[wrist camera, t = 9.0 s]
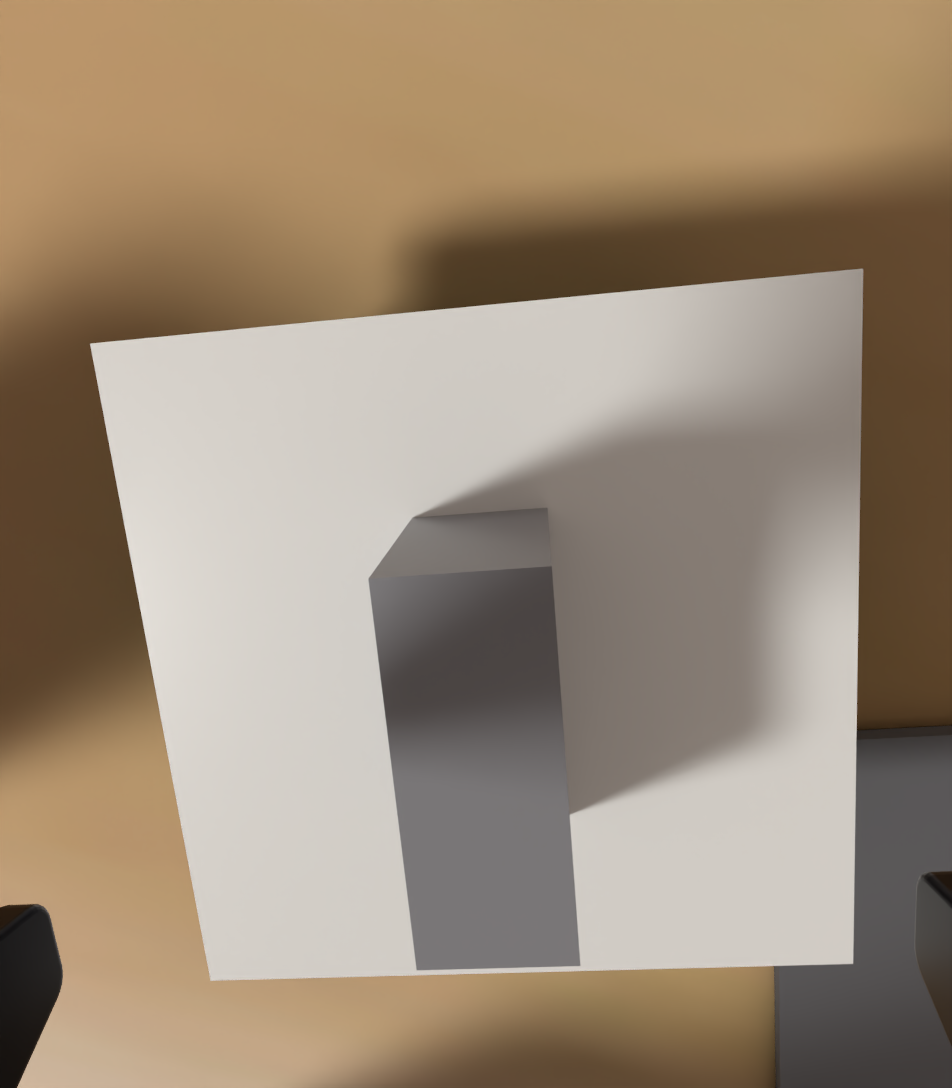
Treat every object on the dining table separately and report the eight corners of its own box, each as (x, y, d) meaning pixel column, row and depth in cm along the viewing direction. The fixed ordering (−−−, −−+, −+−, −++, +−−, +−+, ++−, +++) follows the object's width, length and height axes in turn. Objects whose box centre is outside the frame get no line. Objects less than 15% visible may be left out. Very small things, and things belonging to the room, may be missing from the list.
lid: (838, 935, 17) (953, 1158, 12) (224, 953, 18) (116, 1163, 13) (845, 273, 14) (999, 236, 9) (112, 343, 15) (-74, 342, 11)
